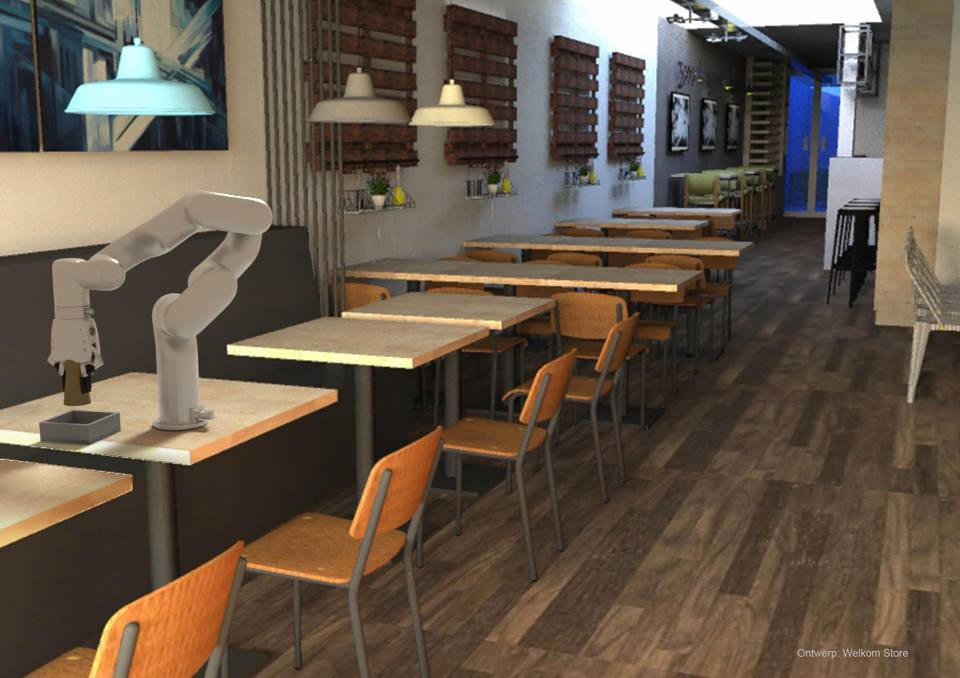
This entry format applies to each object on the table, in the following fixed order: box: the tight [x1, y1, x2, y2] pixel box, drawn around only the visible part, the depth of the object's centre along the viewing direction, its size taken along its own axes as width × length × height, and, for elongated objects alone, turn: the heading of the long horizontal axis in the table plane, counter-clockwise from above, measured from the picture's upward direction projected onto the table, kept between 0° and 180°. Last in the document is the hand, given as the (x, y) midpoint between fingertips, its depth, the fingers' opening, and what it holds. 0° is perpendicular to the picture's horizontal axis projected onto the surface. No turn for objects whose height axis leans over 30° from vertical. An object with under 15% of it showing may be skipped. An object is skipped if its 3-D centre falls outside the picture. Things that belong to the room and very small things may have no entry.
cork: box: [63, 359, 92, 407], centre depth 247 cm, size 6×6×11 cm
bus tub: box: [38, 409, 122, 446], centre depth 249 cm, size 13×13×4 cm
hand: (77, 391), depth 247 cm, fingers closed on cork, 3 cm apart
